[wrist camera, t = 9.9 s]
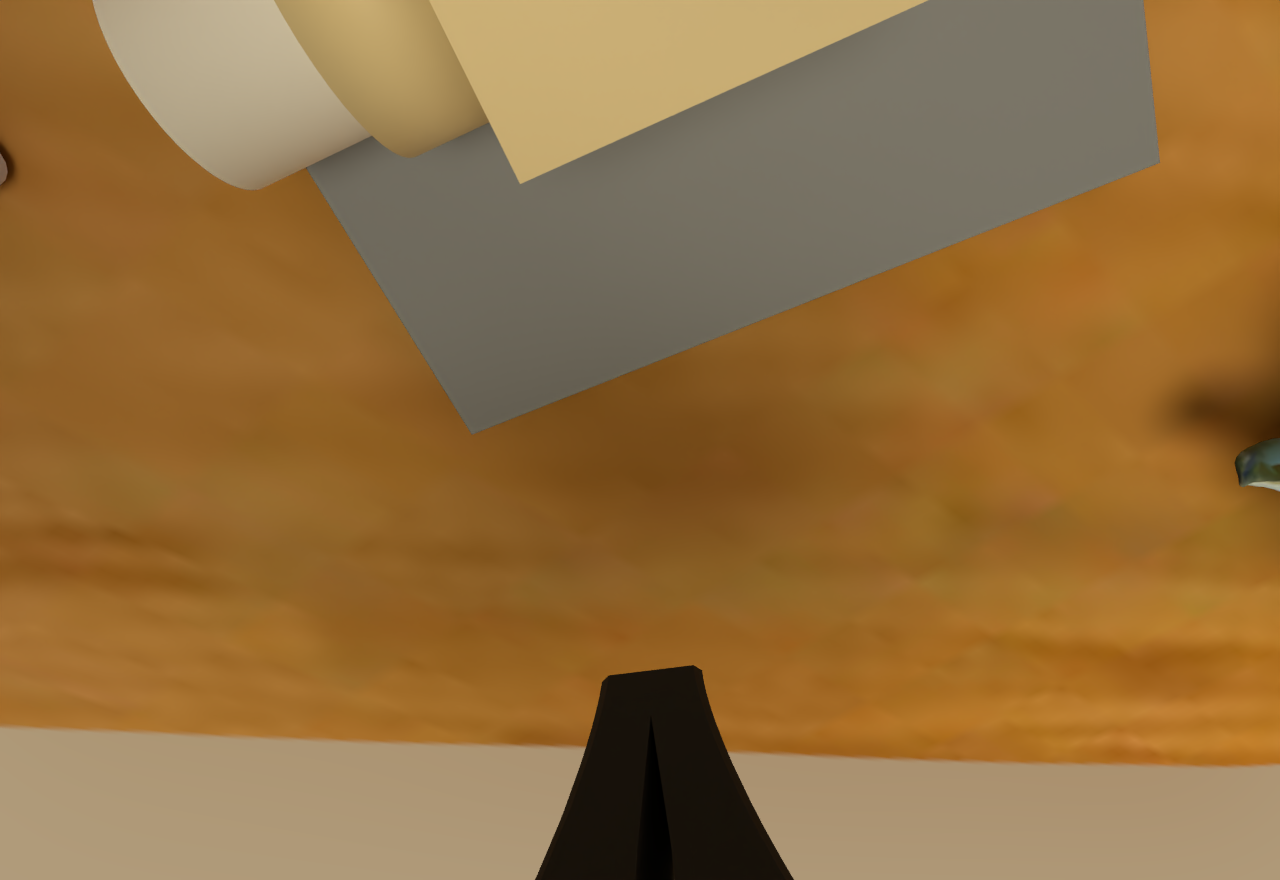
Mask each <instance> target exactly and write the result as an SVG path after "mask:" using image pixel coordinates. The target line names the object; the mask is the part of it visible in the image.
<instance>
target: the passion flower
mask: <svg viewBox="0 0 1280 880" xmlns="http://www.w3.org/2000/svg"><path fill="white" fill-rule="evenodd" d="M1235 467H1236V471H1237V474H1238V478H1239V485H1240V486H1242V487H1245V486H1247V485H1251V486H1257V487H1267V488H1271V489H1275V490H1277V491H1280V438H1273V439H1270V440H1266V441H1263V442H1260V443H1258V444H1256V445H1253V446H1251V447H1249V448H1247V449H1245V450H1244V451H1242V452H1240V454H1239V455H1238V456H1237V457H1236V460H1235Z"/></svg>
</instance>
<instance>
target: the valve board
mask: <svg viewBox="0 0 1280 880" xmlns="http://www.w3.org/2000/svg"><path fill="white" fill-rule="evenodd" d="M93 5H94V9H95V13H96V16H97V19H98V22H99V25H100V27H101V30H102V32H103V35H104V37H105V39H106V42H107V44H108V46H109V48H110V50H111V52H112V54H113V56H114V58H115V60H116V62H117V64H118V66H119V67H120V69H121V71H122V72H123V74H124V76H125V78H126V79H127V81H128V82H129V84H130V86H131V87H132V89H133V90H134V92H135V93H136V95H137V96H138V98H139V99H140V100H141V102H142V103H143V104H144V106H145V107H146V109H147V110H148V111H149V113H150V114H151V115H152V116H153V118H154V119H155V120H156V121H157V122H158V124H159V125H160V126H161V127H162V129H163V130H164V131H165V132H166V133H167V134H168V135H169V136H170V137H171V138H172V140H173V141H174V142H175V143H176V144H177V145H178V146H179V147H180V148H181V149H182V150H183V151H184V152H185V153H187V154H188V155H189V156H190V157H191V158H192V159H193V160H194V161H196V162H197V163H198V164H199V165H200V166H202V167H203V168H204V169H206V170H207V171H208V172H210V173H211V174H213V175H214V176H216V177H217V178H219V179H221V180H222V181H224V182H226V183H228V184H230V185H233V186H235V187H238V188H241V189H245V190H258V189H262V188H264V187H266V186H268V185H270V184H272V183H274V182H276V181H278V180H281V179H283V178H285V177H287V176H289V175H291V174H293V173H295V172H297V171H299V170H301V169H304V168H306V169H307V170H308V172H309V173H310V175H311V177H312V178H313V180H314V181H315V183H316V185H317V186H318V188H319V189H320V191H321V193H322V194H323V196H324V197H325V199H326V201H327V202H328V204H329V206H330V207H331V209H332V210H333V212H334V214H335V215H336V217H337V218H338V220H339V222H340V223H341V225H342V226H343V228H344V230H345V231H346V233H347V234H348V236H349V238H350V239H351V241H352V243H353V244H354V246H355V247H356V249H357V251H358V252H359V254H360V255H361V257H362V259H363V260H364V262H365V263H366V265H367V267H368V268H369V270H370V271H371V273H372V275H373V276H374V278H375V280H376V281H377V283H378V284H379V286H380V288H381V289H382V291H383V292H384V294H385V296H386V297H387V299H388V300H389V302H390V304H391V305H392V307H393V308H394V310H395V312H396V313H397V315H398V317H399V318H400V320H401V321H402V323H403V325H404V326H405V328H406V329H407V331H408V333H409V334H410V336H411V337H412V339H413V341H414V342H415V344H416V346H417V347H418V349H419V350H420V352H421V354H422V355H423V357H424V358H425V360H426V362H427V363H428V365H429V366H430V368H431V370H432V371H433V373H434V374H435V376H436V378H437V379H438V381H439V383H440V384H441V386H442V387H443V389H444V391H445V392H446V394H447V395H448V397H449V399H450V400H451V402H452V403H453V405H454V407H455V408H456V410H457V411H458V413H459V415H460V416H461V418H462V420H463V421H464V423H465V424H466V426H467V428H468V429H469V431H470V432H471V434H475V433H477V432H480V431H482V430H485V429H487V428H490V427H492V426H495V425H497V424H500V423H502V422H505V421H507V420H510V419H513V418H515V417H518V416H520V415H523V414H525V413H528V412H530V411H533V410H535V409H538V408H540V407H543V406H545V405H548V404H551V403H553V402H556V401H558V400H561V399H563V398H566V397H568V396H571V395H573V394H576V393H578V392H581V391H583V390H586V389H588V388H591V387H594V386H596V385H599V384H601V383H604V382H606V381H609V380H611V379H614V378H616V377H619V376H621V375H624V374H626V373H629V372H631V371H634V370H637V369H639V368H642V367H644V366H647V365H649V364H652V363H654V362H657V361H659V360H662V359H664V358H667V357H669V356H672V355H674V354H677V353H680V352H682V351H685V350H687V349H690V348H692V347H695V346H697V345H700V344H702V343H705V342H707V341H710V340H712V339H715V338H718V337H720V336H723V335H725V334H728V333H730V332H733V331H735V330H738V329H740V328H743V327H745V326H748V325H750V324H753V323H755V322H758V321H761V320H763V319H766V318H768V317H771V316H773V315H776V314H778V313H781V312H783V311H786V310H788V309H791V308H793V307H796V306H798V305H801V304H804V303H806V302H809V301H811V300H814V299H816V298H819V297H821V296H824V295H826V294H829V293H831V292H834V291H836V290H839V289H841V288H844V287H847V286H849V285H852V284H854V283H857V282H859V281H862V280H864V279H867V278H869V277H872V276H874V275H877V274H879V273H882V272H885V271H887V270H890V269H892V268H895V267H897V266H900V265H902V264H905V263H907V262H910V261H912V260H915V259H917V258H920V257H922V256H925V255H928V254H930V253H933V252H935V251H938V250H940V249H943V248H945V247H948V246H950V245H953V244H955V243H958V242H960V241H963V240H965V239H968V238H971V237H973V236H976V235H978V234H981V233H983V232H986V231H988V230H991V229H993V228H996V227H998V226H1001V225H1003V224H1006V223H1008V222H1011V221H1014V220H1016V219H1019V218H1021V217H1024V216H1026V215H1029V214H1031V213H1034V212H1036V211H1039V210H1041V209H1044V208H1046V207H1049V206H1052V205H1054V204H1057V203H1059V202H1062V201H1064V200H1067V199H1069V198H1072V197H1074V196H1077V195H1079V194H1082V193H1084V192H1087V191H1089V190H1092V189H1095V188H1097V187H1100V186H1102V185H1105V184H1107V183H1110V182H1112V181H1115V180H1117V179H1120V178H1122V177H1125V176H1127V175H1130V174H1132V173H1135V172H1138V171H1140V170H1143V169H1145V168H1148V167H1150V166H1153V165H1155V164H1158V163H1160V159H1159V149H1158V140H1157V130H1156V120H1155V110H1154V100H1153V91H1152V81H1151V71H1150V61H1149V51H1148V42H1147V32H1146V22H1145V12H1144V3H1143V0H93Z"/></svg>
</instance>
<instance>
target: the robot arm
mask: <svg viewBox="0 0 1280 880" xmlns="http://www.w3.org/2000/svg"><path fill="white" fill-rule="evenodd" d="M7 173H8V171H7V166H6V162H5V160H4V159H3V157H2V155H1V154H0V185H1V184H2V183H3V182H4V181H5V180H6V177H7ZM535 880H794V879H793V877H792V876H791V874H790V873H789V871H788V869H787V867H786V866H785V864H784V862H783V860H782V859H781V857H780V855H779V853H778V852H777V850H776V848H775V846H774V844H773V843H772V841H771V839H770V837H769V835H768V834H767V832H766V830H765V829H764V827H763V825H762V823H761V821H760V819H759V817H758V815H757V813H756V811H755V809H754V807H753V806H752V803H751V801H750V800H749V797H748V795H747V793H746V791H745V789H744V787H743V785H742V783H741V781H740V778H739V776H738V774H737V772H736V770H735V768H734V766H733V764H732V762H731V759H730V757H729V755H728V752H727V750H726V748H725V745H724V743H723V740H722V738H721V735H720V732H719V730H718V727H717V725H716V722H715V719H714V716H713V713H712V710H711V707H710V704H709V701H708V697H707V693H706V689H705V685H704V681H703V674H702V670H700V669H699V668H697V667H695V666H694V665H692V666H683V667H675V668H667V669H659V670H651V671H642V672H634V673H626V674H618V675H610V676H608V677H607V678H606V679H605V680H604V681H603V682H602V686H601V691H600V697H599V702H598V706H597V710H596V714H595V718H594V722H593V726H592V729H591V733H590V736H589V739H588V743H587V746H586V749H585V752H584V756H583V759H582V762H581V765H580V768H579V771H578V773H577V776H576V779H575V782H574V785H573V787H572V790H571V793H570V796H569V799H568V801H567V804H566V807H565V810H564V813H563V815H562V817H561V820H560V823H559V825H558V827H557V830H556V832H555V834H554V837H553V839H552V842H551V844H550V847H549V849H548V851H547V854H546V856H545V858H544V860H543V863H542V865H541V867H540V870H539V872H538V875H537V877H536V879H535Z"/></svg>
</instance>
